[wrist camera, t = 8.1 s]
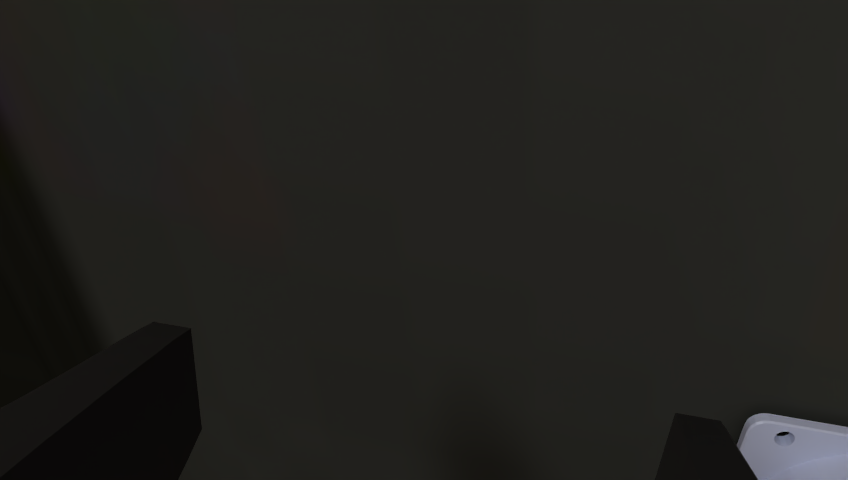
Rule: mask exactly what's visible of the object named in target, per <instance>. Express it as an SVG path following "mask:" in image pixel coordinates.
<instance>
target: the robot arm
mask: <svg viewBox="0 0 848 480" xmlns="http://www.w3.org/2000/svg"><path fill="white" fill-rule="evenodd" d="M201 429H202V427H201V418H200V409H199V400H198V391H197V381H196V372H195V363H194V354H193V345H192V336H191V328H185V327H180V326H174V325H168V324H163V323H157V322H153V323H151V324H149V325H147V326H145V327H143V328H141V329H139V330H137V331H136V332H134V333H132V334H130V335H128V336H127V337H125V338H123V339H121V340H120V341H118V342H116V343H115V344H113V345H111V346H109V347H108V348H106V349H104V350H103V351H101V352H99V353H97V354H96V355H94V356H92V357H91V358H89V359H87V360H86V361H84V362H82V363H80V364H79V365H77V366H75V367H74V368H72V369H70V370H68V371H67V372H65V373H63V374H61V375H60V376H58V377H56V378H54V379H53V380H51V381H49V382H47V383H46V384H44V385H42V386H40V387H39V388H37V389H35V390H33V391H32V392H30V393H28V394H26V395H25V396H23V397H21V398H19V399H17V400H15V401H13V402H11V403H10V404H8V405H6V406H4V407H2V408H0V480H178V478H179V476H180V474H181V472H182V470H183V468H184V466H185V464H186V462H187V460H188V458H189V456H190V454H191V451H192V449H193V447H194V445H195V443H196V440H197V438H198V436H199V434H200V432H201ZM780 432H790V433H789V434H787V435H785V436H777V435H776V434H778V433H780ZM655 480H848V427H844V426H838V425H832V424H826V423H820V422H815V421H809V420H803V419H797V418H791V417H785V416H780V415H774V414H767V413H760V414H756V415H753V416H752V417H750V418H749V419H748V420H747V421H746V423H745V424H744V427H743V430H742V432H741V435H740V438H739V441H738V443H737V445H736V443H735V442H734V440H733V439H732V437H731V435H730V434H729V432H728V431H727V429H726V428H725V426H724V425H723V424H722V422H721V421H718V420H712V419H706V418H701V417H695V416H689V415H683V414H678V413H675V416H674V419H673V422H672V426H671V429H670V432H669V436H668V439H667V442H666V445H665V449H664V452H663V455H662V459H661V462H660V465H659V468H658V472H657V475H656V478H655Z"/></svg>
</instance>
